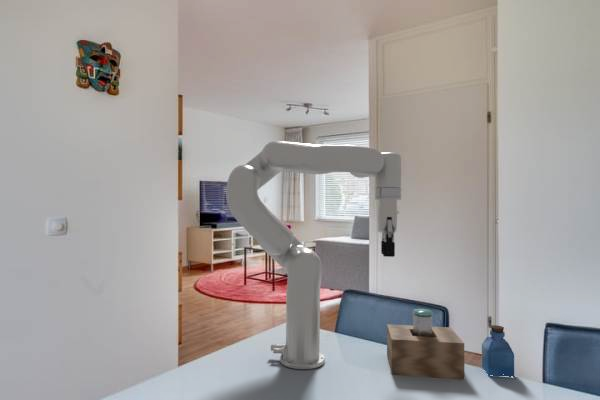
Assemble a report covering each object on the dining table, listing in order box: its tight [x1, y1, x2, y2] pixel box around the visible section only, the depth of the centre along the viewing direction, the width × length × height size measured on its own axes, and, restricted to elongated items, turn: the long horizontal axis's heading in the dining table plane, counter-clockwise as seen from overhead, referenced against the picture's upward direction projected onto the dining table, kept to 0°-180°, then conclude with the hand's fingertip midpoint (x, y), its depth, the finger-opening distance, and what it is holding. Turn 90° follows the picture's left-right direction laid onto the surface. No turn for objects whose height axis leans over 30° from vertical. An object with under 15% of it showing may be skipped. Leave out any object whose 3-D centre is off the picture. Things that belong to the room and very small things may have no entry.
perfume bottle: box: [481, 324, 515, 378], centre depth 102 cm, size 6×6×12 cm
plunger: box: [412, 308, 434, 337], centre depth 106 cm, size 5×5×9 cm
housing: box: [386, 323, 465, 380], centre depth 106 cm, size 18×14×9 cm
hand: (387, 254), depth 114 cm, fingers open, 6 cm apart
